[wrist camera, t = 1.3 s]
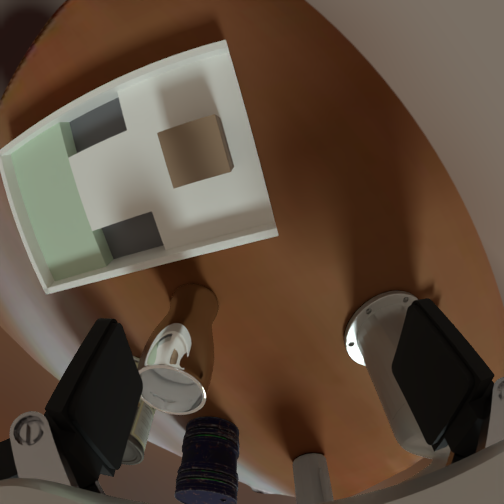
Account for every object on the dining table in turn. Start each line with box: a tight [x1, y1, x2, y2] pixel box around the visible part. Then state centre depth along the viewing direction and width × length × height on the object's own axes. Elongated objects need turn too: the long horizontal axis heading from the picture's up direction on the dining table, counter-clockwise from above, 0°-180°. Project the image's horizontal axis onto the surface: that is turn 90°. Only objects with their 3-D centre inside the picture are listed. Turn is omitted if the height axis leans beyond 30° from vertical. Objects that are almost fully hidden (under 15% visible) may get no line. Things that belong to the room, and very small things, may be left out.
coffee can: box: [121, 356, 156, 465], centre depth 36 cm, size 10×10×14 cm
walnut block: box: [157, 114, 234, 189], centre depth 25 cm, size 5×5×5 cm
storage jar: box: [175, 417, 239, 504], centre depth 40 cm, size 10×10×15 cm
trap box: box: [0, 40, 278, 295], centre depth 29 cm, size 30×20×4 cm, turn 105°
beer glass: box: [137, 284, 219, 415], centre depth 30 cm, size 7×7×15 cm
